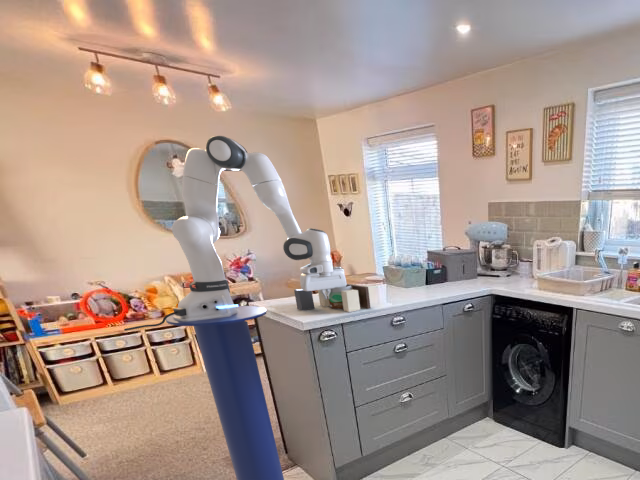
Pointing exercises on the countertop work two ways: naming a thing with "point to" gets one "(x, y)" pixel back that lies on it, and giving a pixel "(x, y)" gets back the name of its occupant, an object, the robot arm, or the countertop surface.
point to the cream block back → (323, 300)
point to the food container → (337, 297)
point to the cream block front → (350, 300)
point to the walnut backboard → (362, 295)
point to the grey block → (304, 299)
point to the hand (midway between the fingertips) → (326, 299)
